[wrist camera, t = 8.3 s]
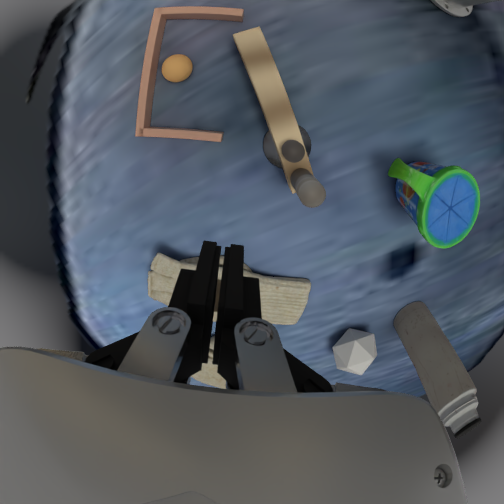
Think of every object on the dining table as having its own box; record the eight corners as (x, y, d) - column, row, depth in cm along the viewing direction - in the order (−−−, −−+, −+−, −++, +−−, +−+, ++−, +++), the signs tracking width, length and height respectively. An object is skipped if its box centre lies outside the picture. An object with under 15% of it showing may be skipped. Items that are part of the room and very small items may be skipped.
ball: (159, 54, 25) (172, 50, 23) (185, 57, 27) (200, 54, 25) (155, 81, 26) (167, 80, 24) (181, 83, 29) (195, 83, 27)
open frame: (160, 13, 23) (154, 7, 21) (243, 15, 24) (243, 9, 22) (142, 133, 31) (135, 136, 29) (222, 139, 32) (220, 142, 30)
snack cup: (456, 188, 35) (496, 212, 26) (421, 236, 39) (455, 269, 30) (399, 124, 31) (443, 135, 22) (359, 182, 35) (392, 210, 26)
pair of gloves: (157, 233, 39) (146, 251, 34) (317, 278, 43) (325, 299, 39) (141, 355, 53) (135, 375, 48) (254, 382, 57) (255, 401, 53)
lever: (234, 40, 25) (229, 18, 17) (258, 33, 24) (262, 9, 17) (288, 186, 34) (302, 212, 27) (310, 179, 34) (330, 203, 26)
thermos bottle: (404, 335, 51) (453, 444, 27) (386, 322, 48) (440, 445, 24) (431, 310, 48) (492, 416, 24) (416, 295, 45) (486, 414, 21)
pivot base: (267, 118, 31) (267, 118, 30) (314, 127, 31) (315, 127, 31) (259, 164, 34) (259, 164, 33) (305, 171, 34) (305, 172, 34)
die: (356, 350, 53) (390, 362, 45) (326, 372, 50) (360, 389, 41) (350, 318, 52) (386, 327, 43) (318, 339, 49) (354, 353, 40)
